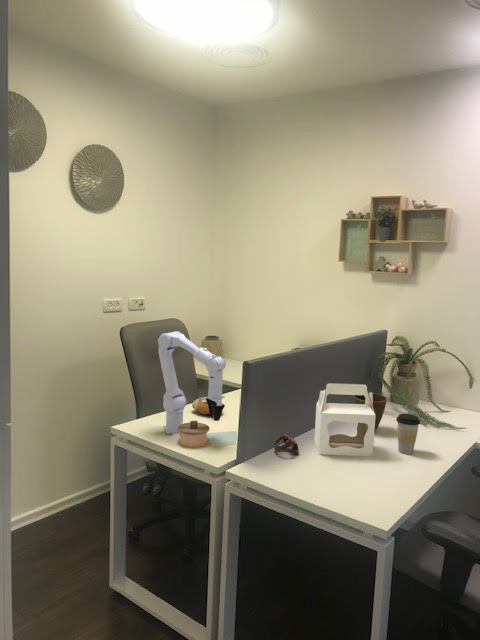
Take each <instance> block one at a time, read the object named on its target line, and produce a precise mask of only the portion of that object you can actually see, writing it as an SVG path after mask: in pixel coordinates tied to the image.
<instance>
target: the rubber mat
mask: <svg viewBox="0 0 480 640" xmlns="http://www.w3.org/2000/svg"><path fill="white" fill-rule="evenodd" d="M237 431H238V430H233V431H230V430H229V431H221V432H220V431H219V432H207V440H209V442H210V444H211V445H212V447H224V446H235V445H237V444H236V441H237Z"/></svg>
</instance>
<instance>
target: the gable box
mask: <svg viewBox="0 0 480 640" xmlns="http://www.w3.org/2000/svg"><path fill="white" fill-rule="evenodd" d="M373 393H374V392H373V391H368V386H367V384H363V383H361V384H360V383H335V382H333V383H332V382H328V383H326V385H325V389H323V390H321V389H320V390H319V395H318V396H319V397H318V400H317V402H316V406H315V423H314V425H315V426H314V441H313V442H314V445H315V448H316V451H317V453H318V455H320V456H321V455H324V456H347V457H351V456H353V457H358V456H359V457H373V455H374V446H375V445H374V442H375V432H374V431H375V417H376V414H375V411H374V408H373ZM328 395H345V396H347V395H349V396H350V395H351V396H354V395H361V396H363V395H364V396H365V404H354V403H337V402H336V403H332V402H327V397H328ZM332 422H341V423H347V424H357V427H356V435H354V436H350V435H347V434H343V433H342V434H341V433H338V434H337V433H336V434H333V435H330V434H329V429H328V425H329V424H330V423H332Z"/></svg>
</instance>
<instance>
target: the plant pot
mask: <svg viewBox="0 0 480 640" xmlns="http://www.w3.org/2000/svg"><path fill="white" fill-rule="evenodd" d="M372 393H373V408H374V411H375V414H376V417H375V431H374V433H376V432H377V430H378V427H379V425H380V423H381V421H382V418H383V415H384V413H385V409H386V406H387V401H388V398H387V397H386V396H385V395H383V394H380V393H377V392H376V393H374V392H372ZM353 404H365V396H364V395H363V396H361V395H353Z"/></svg>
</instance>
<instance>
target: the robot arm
mask: <svg viewBox="0 0 480 640" xmlns="http://www.w3.org/2000/svg"><path fill="white" fill-rule="evenodd" d="M157 345H158V357H159V361H160V367H161V372H162V376H163V381H164V386H165V393H164V395H163V396H162V398H163V401H162V402H163V403H162V404H163V405H162V406H163V409H164V411H165V425H164V426H163V428H164V430H165V432H166V434H167V435H170V434H172V435H173V434H177V433H179V434H180V432H179V430H178V427H179V426H180V425H182V424H184V411H185V407H186V406H187V405H188V403H187V398H186V396H185V394H184V391H183V390H182V389H180V388H179V383H178V379H177V373H176V367H175V363H174V359H173V352H174V351H175V350H176V348H178V347H181V348H182V349H184V350H186V351H188V352H189V353H190V354H192V355H194V358H195V360H197V361H198V362H199V363H201V364H202V365H204V366H205V367H206V370H207V372H208V391H207V394H208V395H207V397H208V398H206V401H207V404H208V408H209V413H210V414H209V416H212V415H213V417H214V418H213V420H214V422H217V421H218V422H219V421H220V419H221V416H222V413H223V410H224V408H225V407H226V405H225V404H224V403H223V399H225V398H226V396H225V395H223V374H224V372H223V371H224V370H225V367H226V366H227V365H226V364H227V363H226V360H225V358H223V356H221V355H220V356H219V355H218V356H217V355H216V354H215V353H214V354H213V353H212V352H210V351H209V350H208V348H206V347H198V346H197V345H196V344H194V343H193V342H192V341H191V340H189V339H188V338H187V337H186V336H185V334H184V333H182V332H181V331H179V330H177V331H176V330H175V331H171V332H165V333H161V334H160V336H159V337H158V339H157Z"/></svg>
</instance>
